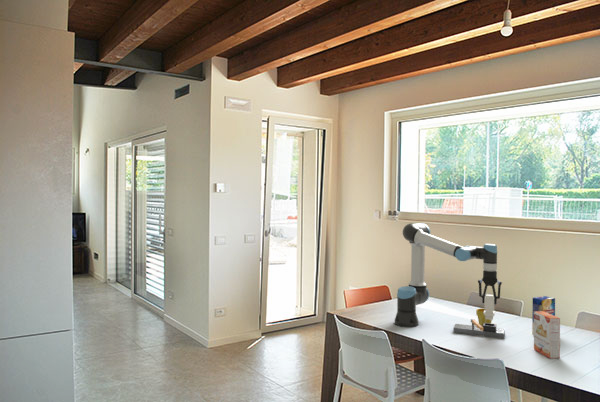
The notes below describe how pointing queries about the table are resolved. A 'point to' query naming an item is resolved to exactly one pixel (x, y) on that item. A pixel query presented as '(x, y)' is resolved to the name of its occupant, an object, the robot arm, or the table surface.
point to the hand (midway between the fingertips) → (489, 309)
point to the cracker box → (547, 334)
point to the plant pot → (482, 317)
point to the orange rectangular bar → (476, 324)
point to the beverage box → (543, 306)
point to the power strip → (487, 331)
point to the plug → (489, 307)
